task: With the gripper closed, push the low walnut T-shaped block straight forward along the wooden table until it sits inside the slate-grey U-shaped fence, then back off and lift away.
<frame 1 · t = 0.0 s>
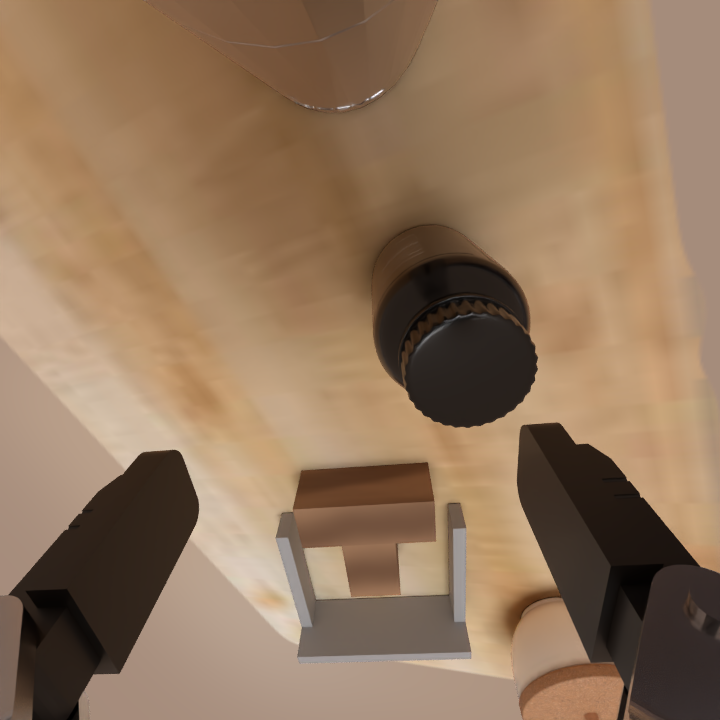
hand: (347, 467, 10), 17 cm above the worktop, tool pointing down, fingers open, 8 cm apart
supplement bottle: (426, 279, 25), on the worktop
grey fence: (376, 560, 37), on the worktop
lidded jar: (551, 614, 40), on the worktop
t block: (366, 485, 33), on the worktop
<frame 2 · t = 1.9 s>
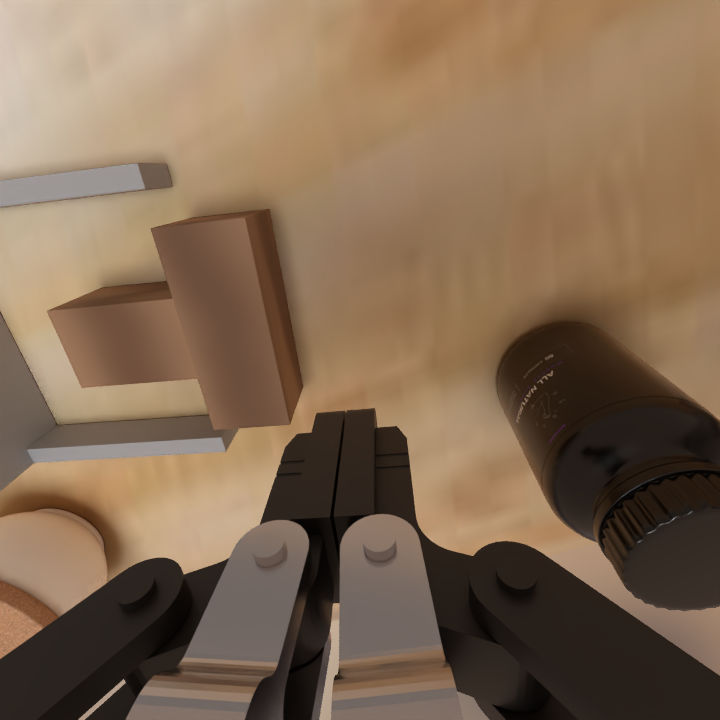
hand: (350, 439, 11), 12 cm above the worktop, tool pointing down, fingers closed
supplement bottle: (553, 374, 23), on the worktop
grey fence: (98, 323, 23), on the worktop
lidded jar: (66, 535, 31), on the worktop
t block: (252, 309, 22), on the worktop
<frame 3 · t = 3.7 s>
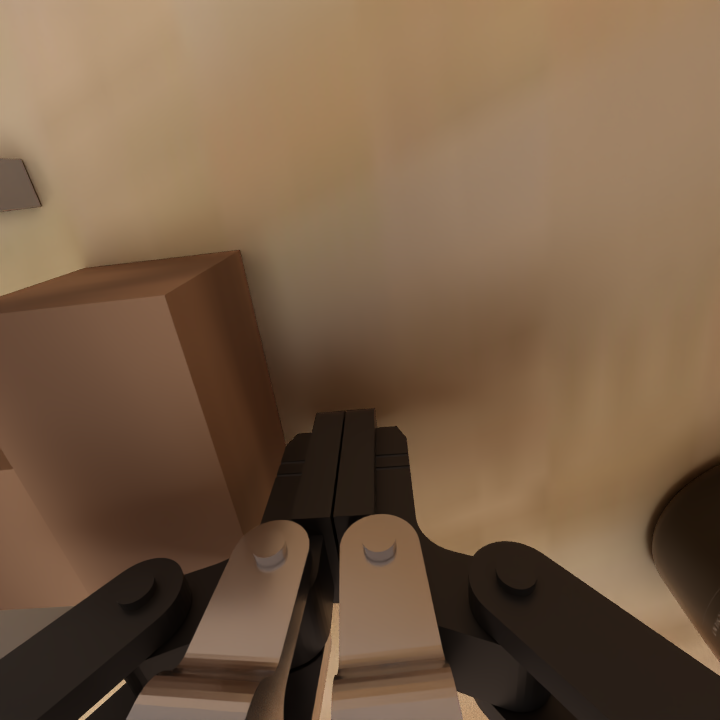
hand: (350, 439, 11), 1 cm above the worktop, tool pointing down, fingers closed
t block: (214, 427, 12), on the worktop, touching gripper
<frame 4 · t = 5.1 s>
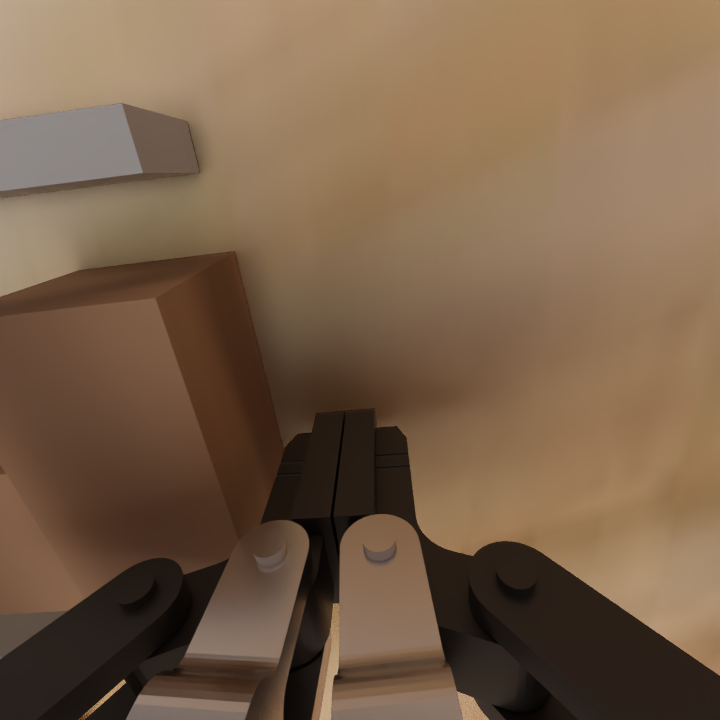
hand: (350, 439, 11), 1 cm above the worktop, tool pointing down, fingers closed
grey fence: (51, 435, 12), on the worktop
t block: (211, 429, 12), on the worktop, touching gripper
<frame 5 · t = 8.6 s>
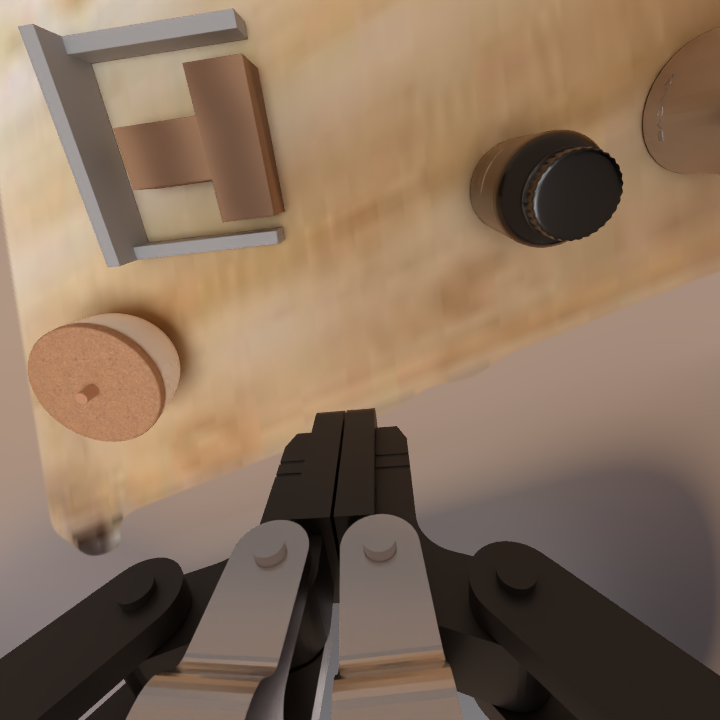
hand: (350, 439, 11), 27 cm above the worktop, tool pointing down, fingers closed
supplement bottle: (510, 187, 33), on the worktop
grey fence: (187, 151, 32), on the worktop
lidded jar: (144, 349, 40), on the worktop
t block: (247, 147, 32), on the worktop
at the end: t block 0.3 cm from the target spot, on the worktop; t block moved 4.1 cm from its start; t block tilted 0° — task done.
